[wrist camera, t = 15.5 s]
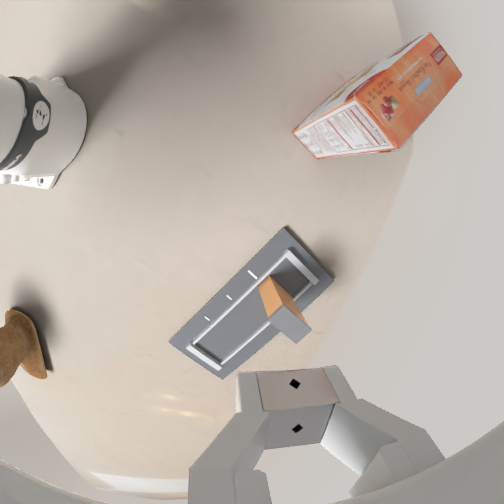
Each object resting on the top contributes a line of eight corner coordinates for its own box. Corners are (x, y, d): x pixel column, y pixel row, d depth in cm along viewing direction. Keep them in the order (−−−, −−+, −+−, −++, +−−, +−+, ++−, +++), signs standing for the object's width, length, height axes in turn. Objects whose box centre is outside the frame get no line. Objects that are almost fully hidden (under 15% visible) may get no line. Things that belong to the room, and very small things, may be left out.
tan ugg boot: (0, 300, 38) (-42, 333, 24) (39, 314, 40) (-3, 357, 26) (13, 357, 42) (-17, 394, 28) (51, 373, 44) (23, 418, 29)
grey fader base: (222, 376, 47) (222, 383, 45) (169, 339, 44) (167, 345, 42) (332, 278, 44) (336, 283, 42) (283, 227, 41) (285, 229, 39)
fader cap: (280, 306, 43) (296, 343, 33) (256, 286, 42) (267, 320, 32) (292, 295, 43) (311, 330, 33) (269, 274, 41) (284, 305, 31)
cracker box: (347, 77, 35) (431, 28, 15) (372, 106, 37) (466, 77, 17) (287, 130, 37) (353, 93, 17) (316, 160, 38) (401, 155, 18)
